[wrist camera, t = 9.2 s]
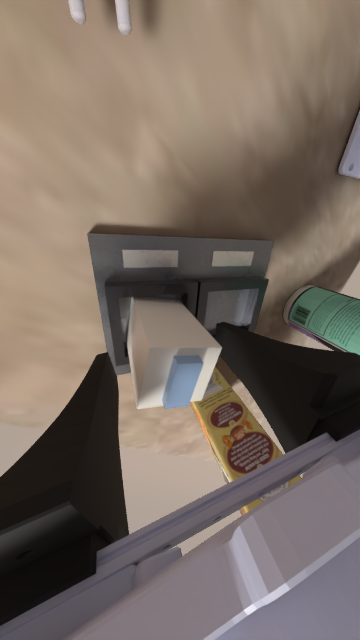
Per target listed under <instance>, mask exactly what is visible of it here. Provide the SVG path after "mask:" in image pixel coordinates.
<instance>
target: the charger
mask: <svg viewBox="0 0 360 640" xmlns="http://www.w3.org/2000/svg"><path fill="white" fill-rule="evenodd" d="M68 1H69V6H70V12H71V16H72V18H73V19H74V20H75V21H76V22H77V23H78V24H84V23H85V21H86V14H85V8H84V2H83V0H68ZM115 4H116V12H117V21H118V28H119V30H120V32H121V33H122V34H123V35H125V36H126V35H129V34H130V32H131V19H130V9H129V0H115Z"/></svg>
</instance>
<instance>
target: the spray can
mask: <svg viewBox="0 0 360 640" xmlns="http://www.w3.org/2000/svg"><path fill="white" fill-rule="evenodd" d="M283 319H284V321H285V322H286V323H287V324H288V325H290V326H291V327H293V328H295V329H297V330H299V331H300V332H302V333H304V334H306V335H307V336H309V337H311V338H313V339H314V340H316V341H318V342H320V343H321V344H323V345H325V346H327V347H328V348H330V349H332V350H334V351H340V352H352V353H356V354H358V355H360V299H357V298H354V297H350V296H347V295H344V294H341V293H337V292H334V291H331V290H327V289H324V288H321V287H318V286H314V285H306V286H303V287H301V288H300V289H298V290H297V291H296V292H295V293H294V294H293V295H292V296H291V297H290V298H289V300H288V302H287V303H286V305H285V308H284V312H283Z"/></svg>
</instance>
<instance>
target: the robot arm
mask: <svg viewBox="0 0 360 640" xmlns="http://www.w3.org/2000/svg"><path fill="white" fill-rule="evenodd" d="M339 174H341V175H345V176H349V177H354V178H358V179H360V111H359V113H358V116H357V119H356V122H355V124H354V127H353V130H352V133H351V135H350V138H349V141H348V144H347V146H346V149H345V152H344V155H343V158H342V160H341V163H340V166H339ZM216 341H217V342H218V343H219V344H220V346H221V347H222V350H221V352H220V355H221V357H222V358H223V360H224V361H225V362H226V363H227V365H228V366H229V367H230V368H231V370H232V371H233V372H234V373H235V374H236V376H237V377H238V378H239V379H240V380H241V382H242V383H243V384H244V385H245V387H246V388H247V389H248V391H249V392H250V394H251V395H252V397H253V398H254V400H255V401H256V403H257V405H258V406H259V408H260V409H261V411H262V413H263V414H264V416H265V418H266V419H267V421H268V422H269V424H270V426H271V428H272V429H273V431H274V433H275V435H276V436H277V438H278V440H279V442H280V444H281V446H282V447H283V449H284V451H285V453H286V454H284V455H282V456H280V457H278V458H276V459H274V460H272V461H270V462H268V463H266V464H265V465H263V466H261V467H259V468H257V469H255V470H253V471H251V472H249V473H247V474H245V475H243V476H241V477H240V478H238V479H236V480H234V481H232V482H230V483H228V484H226V485H224V486H222V487H220V488H218V489H216V490H214V491H213V492H211V493H209V494H207V495H205V496H203V497H201V498H199V499H197V500H195V501H193V502H192V503H189V504H188V505H186V506H184V507H182V508H180V509H178V510H176V511H174V512H172V513H170V514H169V515H166V516H165V517H163V518H161V519H159V520H157V521H155V522H153V523H151V524H149V525H147V526H145V527H143V528H141V529H139V530H137V531H136V532H134V533H132V534H130V535H129V531H128V522H127V514H126V506H125V499H124V489H123V480H122V470H121V460H120V450H119V437H118V405H119V391H118V382H117V376H116V373H115V370H114V367H113V365H112V362H111V359H110V356H109V354H108V352H106V353H103V354H99V355H97V356H96V357H95V359H94V361H93V363H92V365H91V367H90V369H89V371H88V373H87V374H86V376H85V378H84V379H83V381H82V383H81V384H80V386H79V388H78V389H77V391H76V392H75V394H74V395H73V397H72V398H71V400H70V401H69V403H68V404H67V405H66V407H65V408H64V409H63V411H62V412H61V413H60V415H59V416H58V417H57V418H56V420H55V421H54V422H53V423H52V424H51V425H50V426H49V428H48V429H47V430H46V431H45V432H44V434H43V435H42V436H41V437H40V438H39V439H38V440H37V441H36V442H35V443H34V444H33V446H31V448H30V449H29V450H28V451H27V452H26V453H25V454H24V455H23V456H22V457H21V458H20V459H19V460H18V461H17V462H16V463H15V464H14V465H13V466H12V467H11V468H10V469H9V470H8V471H6V472H5V473H4V474H3V475H2V476H1V477H0V640H360V355H358V354H356V353H352V352H340V351H329V350H321V349H314V348H308V347H302V346H297V345H292V344H288V343H284V342H280V341H276V340H273V339H270V338H267V337H264V336H261V335H258V334H255V333H252V332H250V331H247V330H245V329H242V328H240V327H237V326H235V325H232V324H229V323H227V322H221V323H217V324H216ZM304 472H305V473H304ZM302 473H304V474H303V478H302V479H301V480H300V481H298V482H296V483H294V484H293V485H291V486H289V487H287V488H286V489H284V490H282V491H281V492H279V493H277V494H275V495H274V496H272V497H270V498H268V499H267V500H265V501H264V502H262V503H260V504H259V505H257V506H256V507H254V508H253V509H251V510H250V511H249V512H247V513H246V514H244V515H243V516H241V517H240V518H238V519H237V520H235V521H233V522H232V523H230V524H229V525H227V526H226V527H225V528H223V529H222V530H220V531H219V532H217V533H216V534H214V535H213V536H211V537H210V538H208V539H207V540H206V541H204V542H203V543H201V544H200V545H199V546H197V547H195V548H194V549H192V550H191V551H189V552H188V553H187V554H185V555H184V556H182V553H181V549H180V548H179V547H176V548H173V549H171V548H172V547H174V546H176V545H177V544H179V543H181V542H183V541H185V540H186V539H188V538H190V537H192V536H193V535H195V534H197V533H199V532H200V531H202V530H204V529H206V528H207V527H209V526H211V525H213V524H214V523H216V522H218V521H220V520H221V519H223V518H225V517H227V516H229V515H230V514H232V513H234V512H235V511H237V510H239V509H241V508H243V507H244V506H246V505H248V504H250V503H251V502H253V501H255V500H257V499H258V498H260V497H262V496H264V495H265V494H267V493H269V492H271V491H272V490H274V489H276V488H278V487H279V486H281V485H283V484H285V483H286V482H288V481H290V480H292V479H293V478H295V477H297V476H299V475H300V474H302ZM169 549H170V550H169ZM167 550H168V551H167Z"/></svg>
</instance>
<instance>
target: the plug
mask: <svg viewBox="0 0 360 640" xmlns="http://www.w3.org/2000/svg"><path fill="white" fill-rule="evenodd" d="M126 341H127V348H128V354H129V361H130V367H131V374H132V380H133V387H134V393H135V400H136V406H137V409H143V408H150V407H157V406H164V408H165V409H169V408H176V407H183V406H189V403H190V402H194V401H201V400H202V398H203V395H204V393H205V390H206V388H207V385H208V383H209V380H210V378H211V375H212V372H213V370H214V367H215V365H216V362H217V360H218V357H219V355H220V352H221V350H222V347H221V346H220V344H219V343H218V342H217V341H216V340H215V339H214V338H213V337H212V336H211V335H210V334H209V332H208V331H207V330H206V329H205V328H204V327H203V326H202V325H201V324H200V323H199V321H198V320H197V319H196V318H195V317H194V316H193V315H192V314H191V313H190V312H189V310H188V309H187V308H186V307H185V306H184V305H183V304H182V303H181V302H180V301H179V300H171V299H162V298H153V297H145V296H139V297H132V299H131V307H130V314H129V321H128V329H127V336H126Z"/></svg>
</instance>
